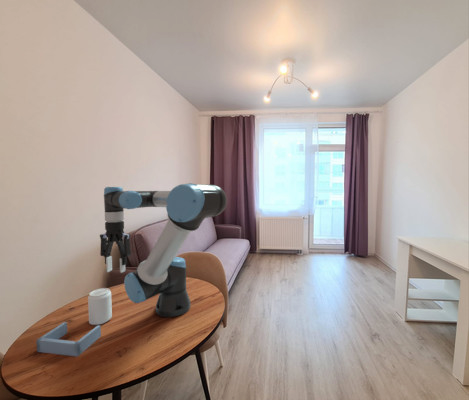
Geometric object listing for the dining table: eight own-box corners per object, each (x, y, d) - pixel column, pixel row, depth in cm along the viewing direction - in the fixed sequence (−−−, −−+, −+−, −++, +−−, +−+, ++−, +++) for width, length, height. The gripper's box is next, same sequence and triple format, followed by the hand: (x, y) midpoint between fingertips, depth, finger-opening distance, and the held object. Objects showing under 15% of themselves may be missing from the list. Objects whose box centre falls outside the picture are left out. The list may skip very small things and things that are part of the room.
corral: (100, 336, 80) (100, 325, 80) (77, 356, 70) (77, 344, 70) (64, 332, 83) (64, 322, 82) (36, 351, 73) (36, 339, 73)
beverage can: (101, 327, 85) (100, 297, 85) (83, 325, 87) (82, 295, 87) (116, 315, 93) (115, 288, 93) (100, 313, 95) (99, 286, 95)
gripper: (138, 220, 101) (140, 269, 102) (101, 219, 104) (103, 267, 105) (128, 222, 93) (130, 275, 94) (89, 221, 96) (91, 273, 97)
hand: (116, 271), depth 99 cm, fingers open, 6 cm apart
